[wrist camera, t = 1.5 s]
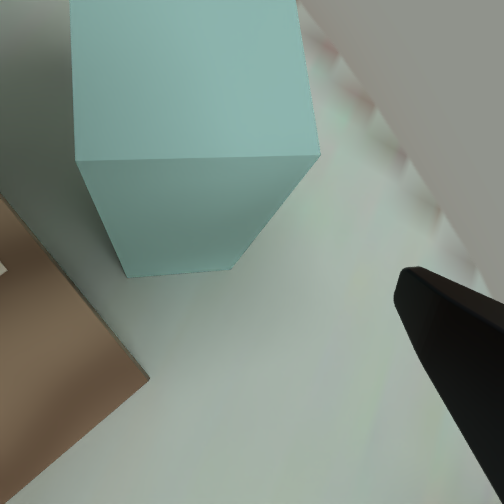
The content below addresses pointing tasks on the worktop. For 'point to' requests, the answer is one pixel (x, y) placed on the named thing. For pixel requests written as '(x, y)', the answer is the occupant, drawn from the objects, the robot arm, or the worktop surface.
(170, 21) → the column
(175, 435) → the worktop surface
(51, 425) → the baseplate
